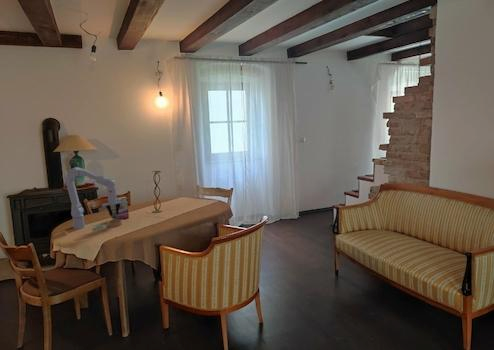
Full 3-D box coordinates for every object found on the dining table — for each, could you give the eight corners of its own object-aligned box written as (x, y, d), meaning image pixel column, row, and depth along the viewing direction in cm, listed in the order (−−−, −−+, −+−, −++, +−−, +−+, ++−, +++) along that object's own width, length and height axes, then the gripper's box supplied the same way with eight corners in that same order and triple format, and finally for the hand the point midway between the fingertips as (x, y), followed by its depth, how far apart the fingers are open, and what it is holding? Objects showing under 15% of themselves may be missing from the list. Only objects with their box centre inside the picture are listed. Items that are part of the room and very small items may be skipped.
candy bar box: (125, 217, 291) (124, 196, 289) (129, 218, 288) (127, 197, 286) (112, 220, 283) (110, 199, 281) (115, 221, 280) (113, 200, 277)
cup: (106, 225, 268) (106, 221, 267) (119, 223, 273) (119, 218, 273) (109, 228, 260) (109, 224, 260) (123, 226, 265) (123, 221, 265)
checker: (90, 228, 262) (89, 226, 262) (104, 226, 268) (104, 223, 267) (93, 232, 254) (93, 229, 253) (108, 229, 259) (107, 226, 259)
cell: (110, 217, 266) (109, 209, 265) (116, 216, 269) (115, 208, 268) (112, 218, 263) (111, 210, 262) (117, 217, 265) (117, 209, 264)
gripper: (103, 199, 256) (104, 217, 258) (124, 195, 264) (125, 214, 266) (100, 197, 262) (102, 216, 264) (121, 194, 270) (122, 212, 272)
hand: (114, 215), depth 266 cm, fingers closed on cell, 4 cm apart
